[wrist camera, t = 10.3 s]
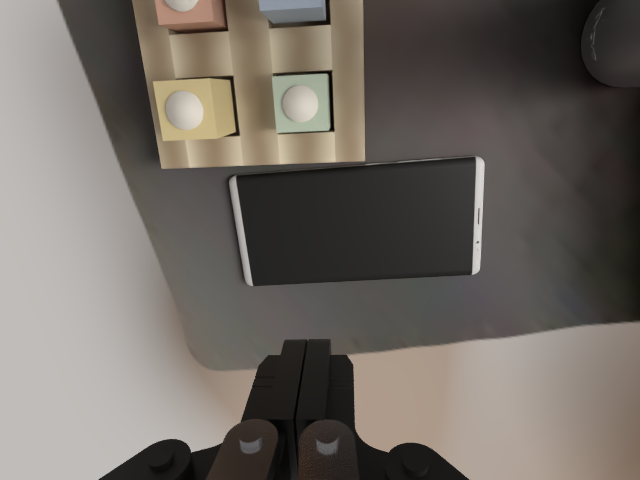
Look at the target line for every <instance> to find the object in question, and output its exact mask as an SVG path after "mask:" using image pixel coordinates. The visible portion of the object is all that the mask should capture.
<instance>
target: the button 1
mask: <svg viewBox="0 0 640 480" xmlns="http://www.w3.org/2000/svg"><path fill="white" fill-rule="evenodd" d="M155 5H156V11H157V17H158V24H159V25H160V26H163V27H166V28H169V29H172V30H175V31H177V32H180V33H183V34H194V33H209V32H225V31H228V22H227V13H226V4H225V0H155Z"/></svg>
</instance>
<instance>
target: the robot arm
mask: <svg viewBox="0 0 640 480" xmlns="http://www.w3.org/2000/svg"><path fill="white" fill-rule="evenodd" d="M581 53H582V59H583V61H584V64H585V66H586V68H587V70H588V71H589V72H590V74H591V75H592V76H593V77H594V78H595V79H597V80H598V81H599V82H601V83H603V84H606V85H608V86H613V87H640V0H600V1H599V2H598V3H597V4H596V5H595V7H594V8H593V10H592V11H591V13H590V14H589V16H588V19H587V21H586V23H585V25H584V29H583V33H582V37H581ZM354 421H355V416H354V375H353V364H352V363H351V361H350V359H349V358H348V356H347V355H331V340H330V339H309V340H308V341H307V339H306V340H285V341H284V344H283V348H282V352H281V355H268V356H267V357H266V358H265V359H264V361H263V362H262V363H261V364H260V365H259V367H258V370H257V373H256V376H255V379H254V382H253V385H252V389H251V392H250V395H249V398H248V401H247V404H246V407H245V411H244V414H243V417H242V420H241V423H239V424H237V425H235V426H234V427H233V428H232V429H230V431H229V432H228V433H227V435H226V436H225V438H224V441H223V443H221V444H219V445H217V446H214V447H211V448H208V449H204V450H200V451H196V452H192V453H191V450H190V448H189V446H188V445H187V444H186V443H184V442H183V441H181V440H177V439H168V440H163V441H159V442H157V443H154V444H152V445H150V446H149V447H147V448H146V449H144V450H143V451H141V452H140V453H138V454H137V455H135V456H134V457H132V458H130V459H129V460H127V461H126V462H124V463H123V464H121V465H120V466H118V467H117V468H115V469H114V470H112V471H111V472H110V473H108V474H106V475H105V476H103V477H102V478H100V479H99V480H469V479H468V478H467V477H465V476H464V475H463V474H462V473H461V472H459V471H458V470H457V469H456V468H455V467H453V466H452V465H451V464H450V463H448V462H447V461H446V460H445V459H444V458H442V457H441V456H440V455H439V454H438V453H436V452H435V451H434V450H432V449H431V448H429V447H427V446H425V445H422V444H418V443H404V444H400V445H397V446H396V447H394V448H393V449H391V450H390V452H389V453H388V452H385V451H381V450H378V449H375V448H373V447H371V446H369V445H367V444H366V443H365V442H363V441H362V440H361V438H360V437H359V436H358V434H357V432H356V430H355V422H354Z"/></svg>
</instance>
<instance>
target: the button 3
mask: <svg viewBox="0 0 640 480" xmlns="http://www.w3.org/2000/svg"><path fill="white" fill-rule="evenodd" d="M259 7H260V12H261V13H262V14H263V15H265V16H266V17H267V18H268V19H269V20H270V21H271V22H272V23H273V24H276V23H292V22H307V21H323V20H326V7H325V0H259Z"/></svg>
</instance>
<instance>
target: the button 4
mask: <svg viewBox="0 0 640 480" xmlns="http://www.w3.org/2000/svg"><path fill="white" fill-rule="evenodd" d="M272 84H273V97H274V109H275V121H276V133H285V132H307V131H329V129H330V127H331V104H330V78H329V75H328V74H309V75H291V76H273V77H272Z"/></svg>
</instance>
